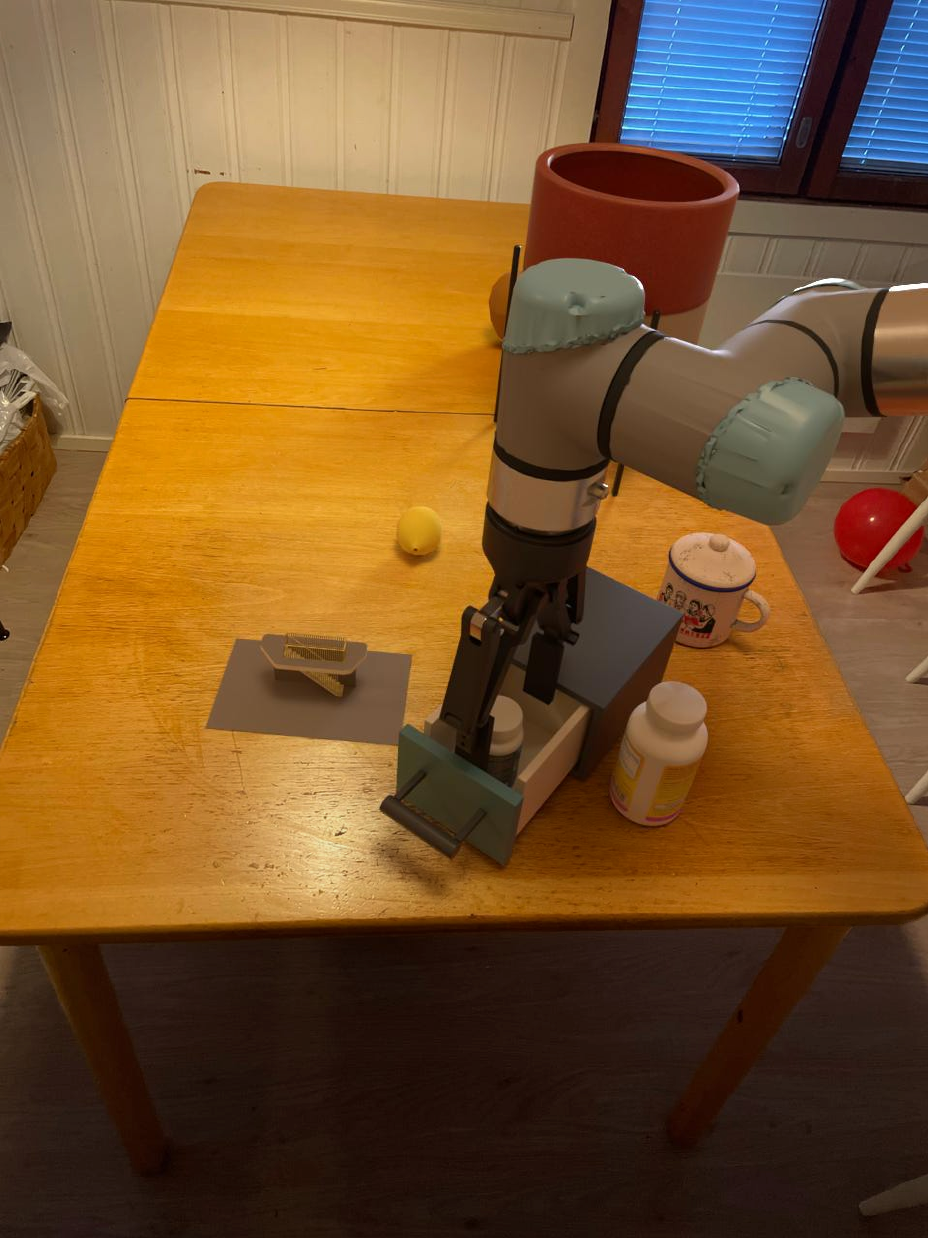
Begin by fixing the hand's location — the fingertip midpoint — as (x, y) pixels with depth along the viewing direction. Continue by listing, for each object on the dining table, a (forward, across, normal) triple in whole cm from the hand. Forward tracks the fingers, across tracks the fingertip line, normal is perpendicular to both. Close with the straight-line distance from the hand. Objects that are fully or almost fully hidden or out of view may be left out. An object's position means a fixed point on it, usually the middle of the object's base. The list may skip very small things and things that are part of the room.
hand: (505, 729), depth 73 cm
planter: (+7, +57, +23) cm, 62 cm away
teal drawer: (+7, -2, +1) cm, 7 cm away
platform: (+8, -2, +20) cm, 22 cm away
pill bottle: (+6, -1, 0) cm, 6 cm away
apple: (+6, +78, +47) cm, 91 cm away
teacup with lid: (+8, +32, -6) cm, 34 cm away
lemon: (+7, +23, +26) cm, 36 cm away
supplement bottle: (+8, +8, -11) cm, 16 cm away
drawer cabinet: (+8, +14, 0) cm, 16 cm away
